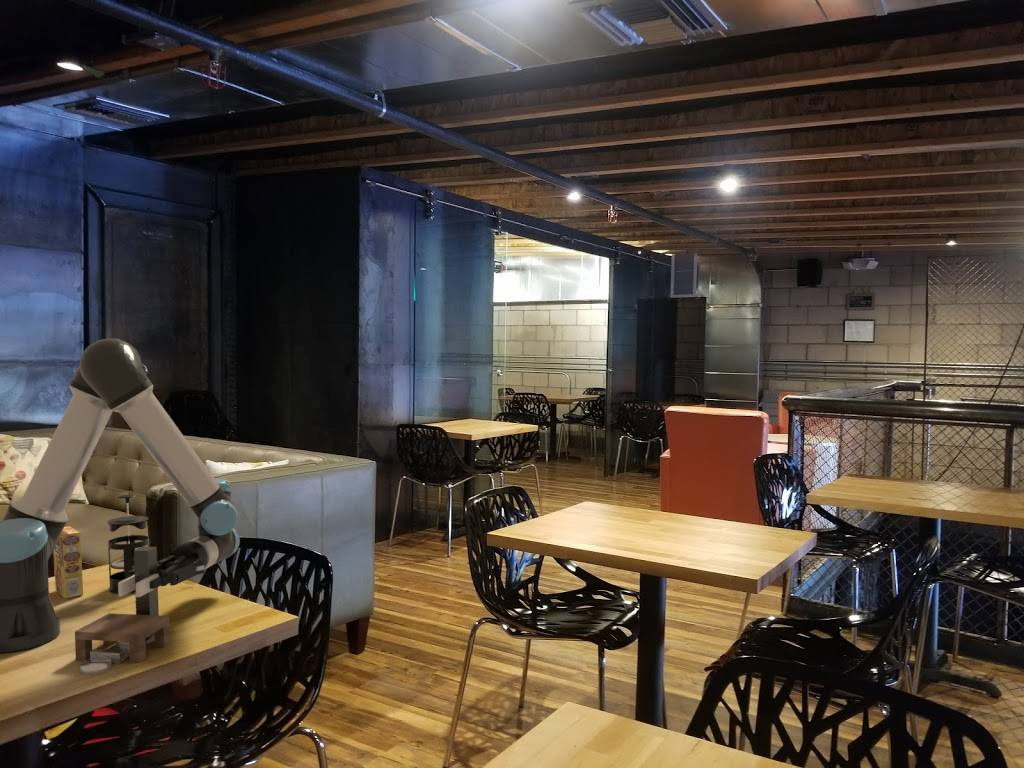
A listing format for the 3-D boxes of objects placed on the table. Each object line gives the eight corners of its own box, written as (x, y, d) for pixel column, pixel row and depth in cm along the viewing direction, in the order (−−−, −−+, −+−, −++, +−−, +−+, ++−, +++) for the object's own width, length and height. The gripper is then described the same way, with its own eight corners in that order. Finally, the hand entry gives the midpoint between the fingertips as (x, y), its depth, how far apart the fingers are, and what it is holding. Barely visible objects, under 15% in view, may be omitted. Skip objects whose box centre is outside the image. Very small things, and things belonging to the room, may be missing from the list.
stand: (75, 660, 148) (74, 631, 148) (110, 640, 158) (109, 613, 158) (139, 663, 146) (138, 634, 146) (169, 643, 156) (169, 616, 156)
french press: (150, 592, 188) (147, 497, 187) (106, 597, 185) (103, 500, 184) (152, 578, 199) (149, 488, 198) (111, 582, 196) (108, 491, 194)
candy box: (84, 595, 186) (81, 531, 185) (64, 599, 183) (61, 534, 182) (73, 587, 192) (70, 525, 192) (53, 591, 189) (51, 528, 189)
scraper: (90, 662, 147) (86, 567, 146) (139, 632, 162) (136, 546, 161) (119, 663, 146) (116, 568, 145) (166, 633, 161) (163, 547, 160)
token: (78, 678, 141) (78, 669, 141) (82, 667, 145) (81, 659, 145) (110, 673, 143) (109, 665, 143) (112, 662, 147) (112, 655, 147)
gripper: (227, 574, 176) (167, 610, 153) (160, 572, 178) (91, 607, 155) (226, 541, 175) (166, 572, 152) (159, 539, 178) (90, 569, 154)
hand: (128, 589), depth 154 cm, fingers closed on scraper, 3 cm apart
